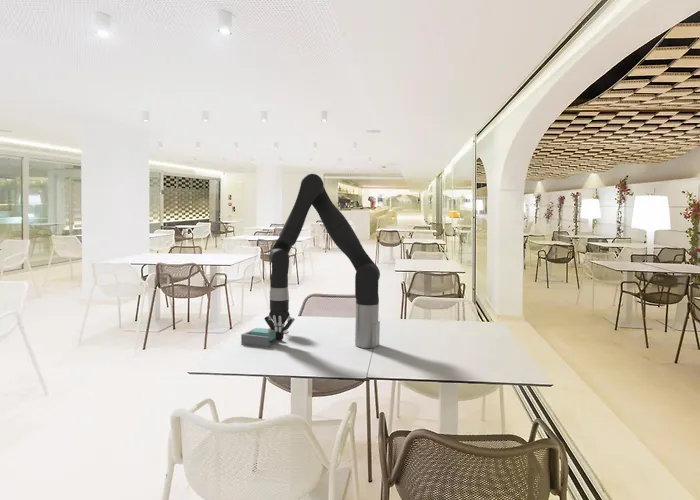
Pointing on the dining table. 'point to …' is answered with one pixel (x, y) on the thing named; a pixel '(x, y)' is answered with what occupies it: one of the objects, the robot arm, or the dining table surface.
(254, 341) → the bay
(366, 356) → the dining table surface
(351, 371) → the dining table surface
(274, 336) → the teal box with handle
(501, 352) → the dining table surface
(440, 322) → the dining table surface
